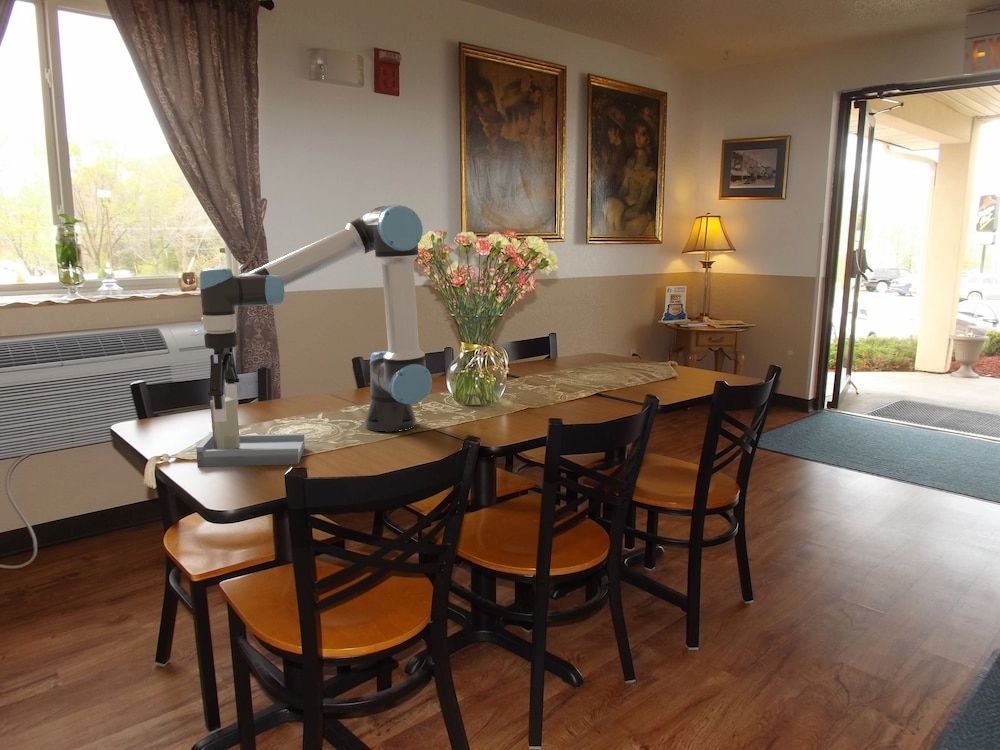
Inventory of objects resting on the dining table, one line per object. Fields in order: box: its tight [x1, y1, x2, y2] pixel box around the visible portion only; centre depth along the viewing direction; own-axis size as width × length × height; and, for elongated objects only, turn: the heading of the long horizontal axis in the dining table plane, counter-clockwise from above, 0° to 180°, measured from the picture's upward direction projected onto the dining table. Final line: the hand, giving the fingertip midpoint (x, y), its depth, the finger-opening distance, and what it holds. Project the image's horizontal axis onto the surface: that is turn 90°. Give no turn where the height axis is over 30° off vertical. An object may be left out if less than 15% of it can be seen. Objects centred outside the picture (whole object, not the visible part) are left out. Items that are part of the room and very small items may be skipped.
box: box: [209, 396, 240, 449], centre depth 181 cm, size 5×4×13 cm
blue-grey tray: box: [195, 431, 306, 468], centre depth 184 cm, size 24×14×5 cm, turn 99°
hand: (226, 414), depth 181 cm, fingers open, 13 cm apart
